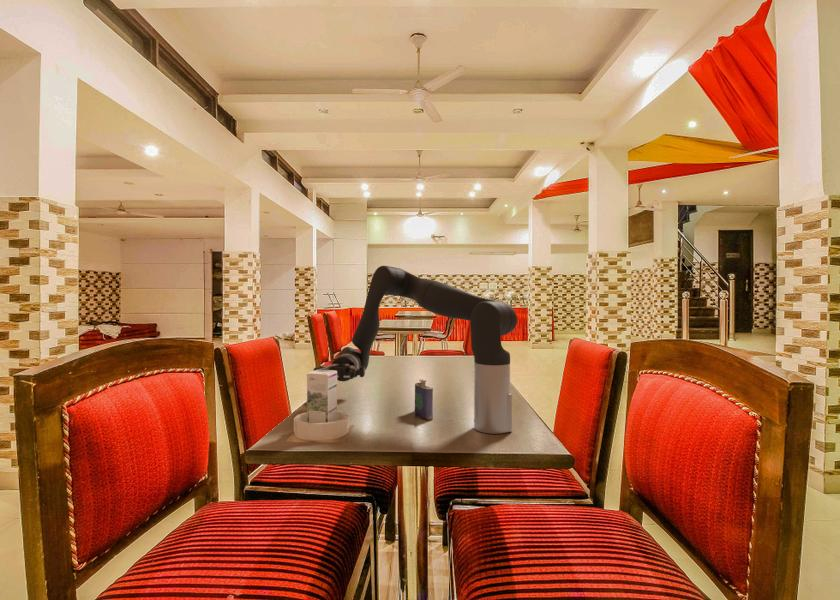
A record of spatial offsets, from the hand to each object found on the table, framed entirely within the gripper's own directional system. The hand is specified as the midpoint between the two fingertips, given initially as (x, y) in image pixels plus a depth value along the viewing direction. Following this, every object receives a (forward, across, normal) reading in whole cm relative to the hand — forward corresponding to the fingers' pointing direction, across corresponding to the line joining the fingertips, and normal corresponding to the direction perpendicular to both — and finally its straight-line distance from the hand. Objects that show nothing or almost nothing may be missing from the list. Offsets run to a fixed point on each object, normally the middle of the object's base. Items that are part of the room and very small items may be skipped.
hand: (335, 375), depth 121 cm
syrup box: (+11, -1, +12) cm, 16 cm away
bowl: (+11, -1, +12) cm, 17 cm away
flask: (-7, +24, +13) cm, 28 cm away
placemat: (+11, -1, +13) cm, 17 cm away
